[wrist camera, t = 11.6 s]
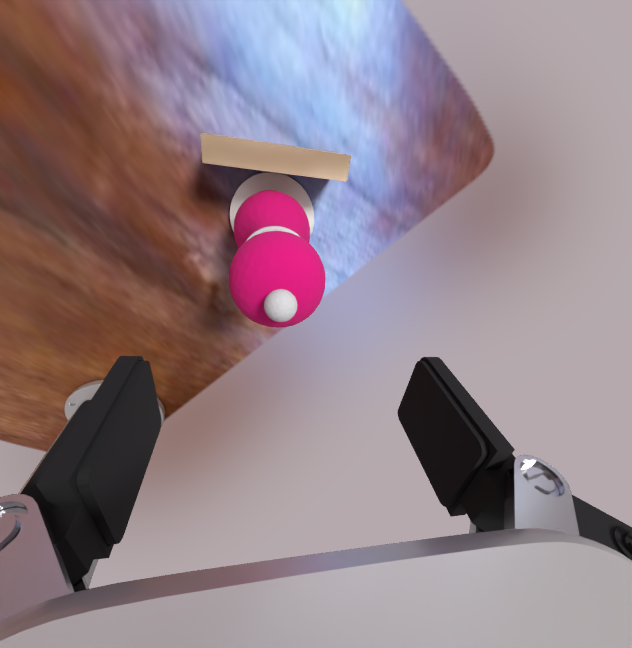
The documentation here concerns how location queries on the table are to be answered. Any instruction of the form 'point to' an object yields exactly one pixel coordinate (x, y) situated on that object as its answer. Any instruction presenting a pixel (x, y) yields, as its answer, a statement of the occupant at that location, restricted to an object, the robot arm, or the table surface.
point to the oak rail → (274, 157)
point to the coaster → (272, 183)
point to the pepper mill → (275, 261)
